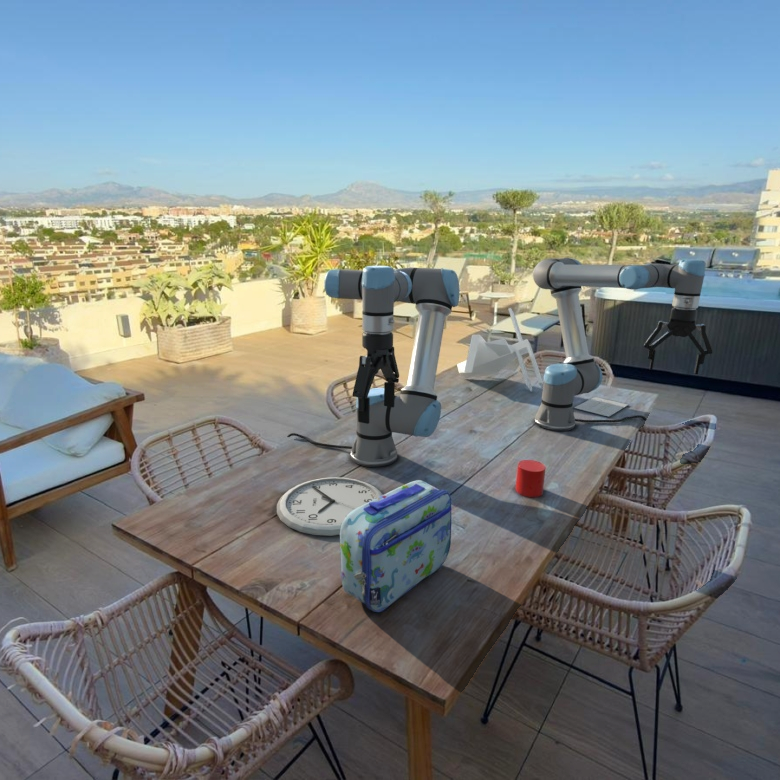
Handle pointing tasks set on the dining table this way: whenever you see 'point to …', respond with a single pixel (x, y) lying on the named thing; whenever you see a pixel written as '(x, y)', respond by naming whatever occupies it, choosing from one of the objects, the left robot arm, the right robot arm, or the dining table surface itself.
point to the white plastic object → (497, 356)
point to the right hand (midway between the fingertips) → (673, 371)
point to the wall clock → (323, 504)
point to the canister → (530, 478)
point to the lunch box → (394, 543)
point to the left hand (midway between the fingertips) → (377, 414)
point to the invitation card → (601, 406)
